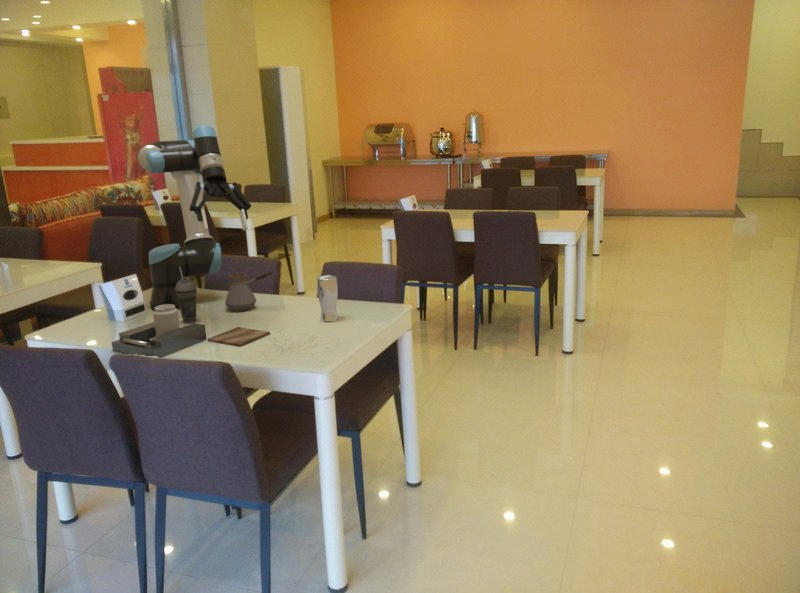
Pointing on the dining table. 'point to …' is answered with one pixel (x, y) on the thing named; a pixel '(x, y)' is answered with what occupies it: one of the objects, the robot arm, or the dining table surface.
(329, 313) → the beer glass
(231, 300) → the coffee pot
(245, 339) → the walnut board
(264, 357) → the dining table surface
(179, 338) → the grey stepped tray
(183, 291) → the beverage cup
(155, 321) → the can
